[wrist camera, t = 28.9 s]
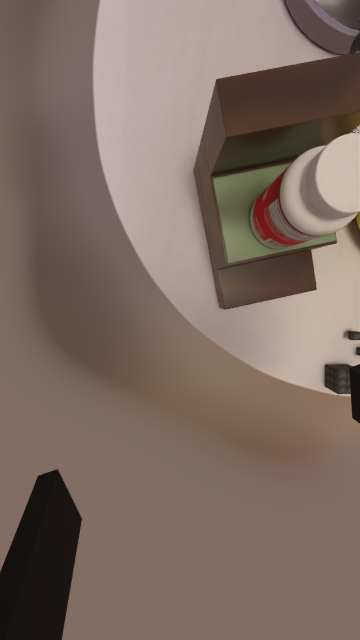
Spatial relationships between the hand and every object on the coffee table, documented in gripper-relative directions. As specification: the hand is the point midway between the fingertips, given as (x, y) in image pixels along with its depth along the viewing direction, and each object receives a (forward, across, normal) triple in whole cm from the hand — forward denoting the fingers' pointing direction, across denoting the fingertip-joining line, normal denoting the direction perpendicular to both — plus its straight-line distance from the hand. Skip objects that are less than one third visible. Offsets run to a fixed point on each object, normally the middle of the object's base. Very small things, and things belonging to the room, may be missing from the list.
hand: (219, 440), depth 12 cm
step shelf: (+25, +15, +7) cm, 30 cm away
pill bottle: (+18, +14, +8) cm, 24 cm away
